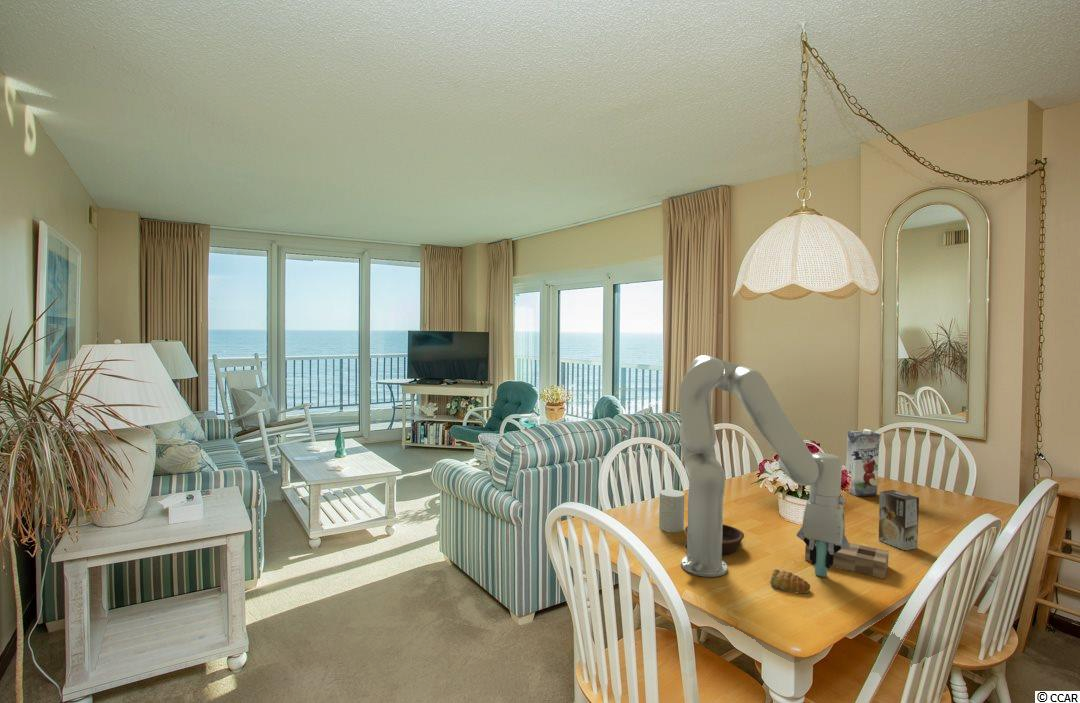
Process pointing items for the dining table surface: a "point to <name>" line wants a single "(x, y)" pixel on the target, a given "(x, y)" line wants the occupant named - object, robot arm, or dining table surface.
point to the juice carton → (863, 462)
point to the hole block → (859, 559)
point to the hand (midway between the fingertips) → (821, 564)
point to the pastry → (789, 582)
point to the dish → (728, 539)
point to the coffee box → (898, 519)
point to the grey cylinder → (671, 510)
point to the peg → (821, 558)
